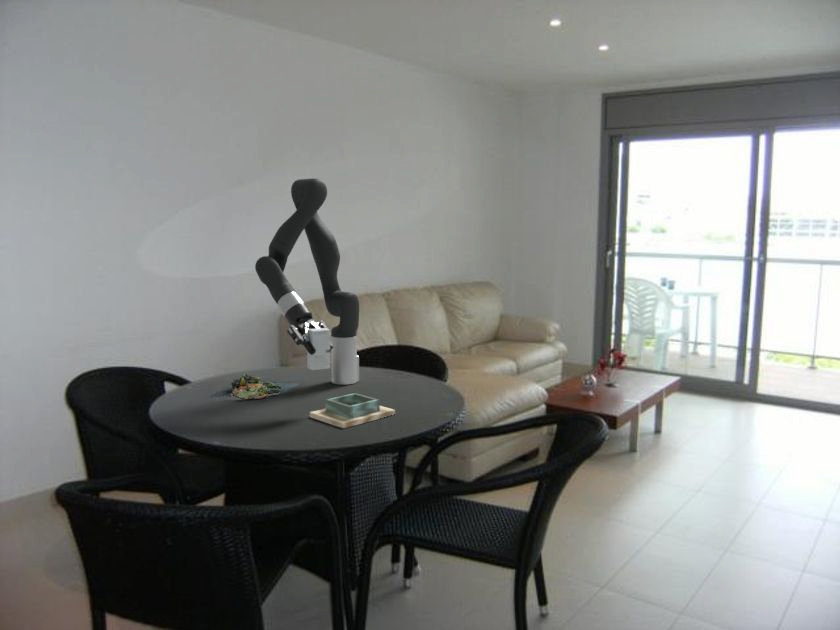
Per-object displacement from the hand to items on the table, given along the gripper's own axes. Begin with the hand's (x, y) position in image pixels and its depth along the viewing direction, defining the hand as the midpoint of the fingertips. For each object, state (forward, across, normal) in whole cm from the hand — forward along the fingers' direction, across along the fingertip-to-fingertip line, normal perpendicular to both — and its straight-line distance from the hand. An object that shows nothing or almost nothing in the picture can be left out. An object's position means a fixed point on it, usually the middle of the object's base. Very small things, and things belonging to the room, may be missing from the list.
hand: (322, 351), depth 201 cm
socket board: (+21, +2, +6) cm, 22 cm away
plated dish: (-12, +5, +41) cm, 43 cm away
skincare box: (+3, 0, +5) cm, 6 cm away
